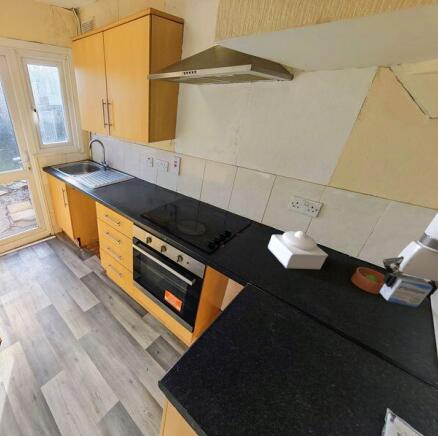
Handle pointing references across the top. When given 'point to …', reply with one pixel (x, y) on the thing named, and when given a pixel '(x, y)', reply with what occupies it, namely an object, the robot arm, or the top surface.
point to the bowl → (366, 283)
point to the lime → (371, 278)
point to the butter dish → (297, 250)
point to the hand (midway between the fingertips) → (405, 289)
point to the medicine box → (406, 290)
